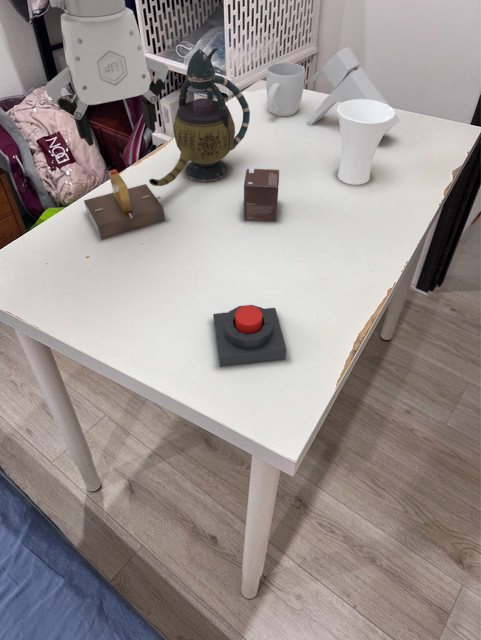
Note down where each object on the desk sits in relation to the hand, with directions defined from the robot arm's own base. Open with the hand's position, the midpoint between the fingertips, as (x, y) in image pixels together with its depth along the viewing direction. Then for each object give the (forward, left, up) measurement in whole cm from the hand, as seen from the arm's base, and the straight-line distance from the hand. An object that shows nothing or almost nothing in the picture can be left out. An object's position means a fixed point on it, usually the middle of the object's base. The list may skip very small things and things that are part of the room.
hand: (120, 134), depth 70 cm
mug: (+35, +45, -18) cm, 59 cm away
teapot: (+11, +17, -18) cm, 27 cm away
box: (+23, +3, -18) cm, 29 cm away
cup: (+44, +13, -18) cm, 49 cm away
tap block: (-2, +5, -18) cm, 19 cm away
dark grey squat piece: (+16, -28, -18) cm, 37 cm away
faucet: (+49, +33, -18) cm, 61 cm away
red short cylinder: (+16, -28, -14) cm, 35 cm away
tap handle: (-2, +5, -15) cm, 16 cm away
